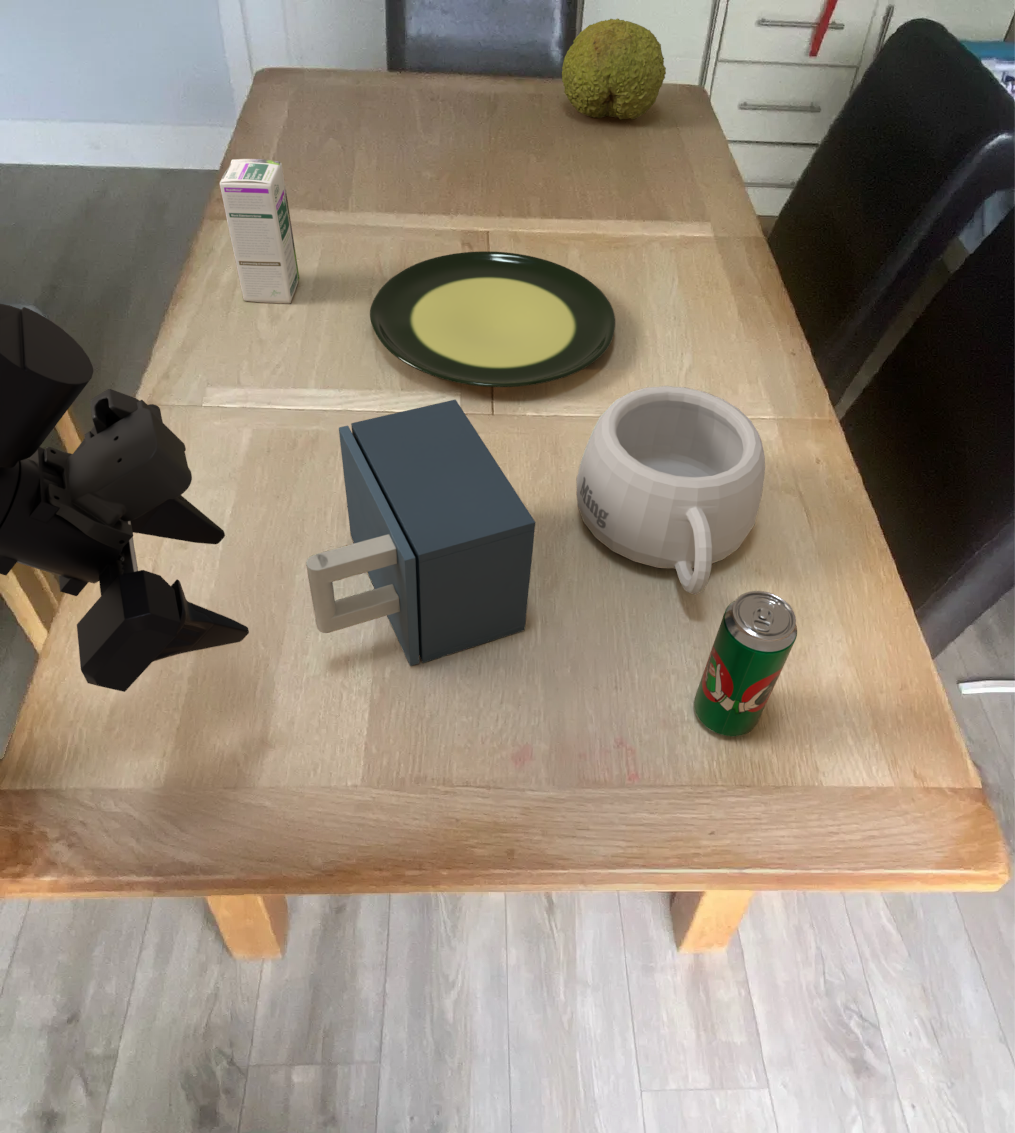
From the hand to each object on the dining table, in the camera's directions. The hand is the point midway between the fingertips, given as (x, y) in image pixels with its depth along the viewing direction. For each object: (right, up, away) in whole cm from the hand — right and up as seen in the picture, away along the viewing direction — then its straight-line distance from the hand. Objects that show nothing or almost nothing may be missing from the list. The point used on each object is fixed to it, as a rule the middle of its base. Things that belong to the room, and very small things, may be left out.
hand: (232, 584), depth 61 cm
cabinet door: (+5, -2, +14) cm, 15 cm away
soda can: (+35, -10, +9) cm, 38 cm away
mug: (+33, +4, +22) cm, 40 cm away
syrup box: (-10, +34, +47) cm, 59 cm away
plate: (+17, +29, +44) cm, 55 cm away
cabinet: (+13, 0, +17) cm, 21 cm away
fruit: (+35, +76, +89) cm, 122 cm away
